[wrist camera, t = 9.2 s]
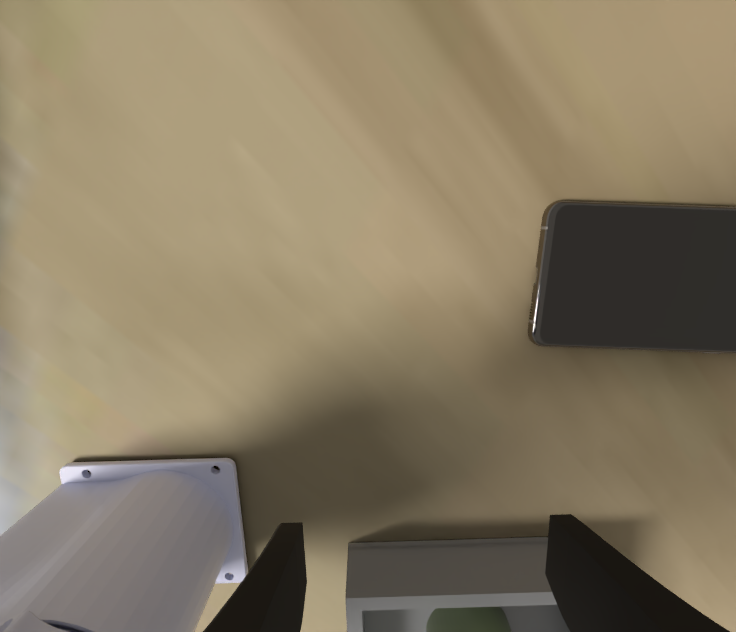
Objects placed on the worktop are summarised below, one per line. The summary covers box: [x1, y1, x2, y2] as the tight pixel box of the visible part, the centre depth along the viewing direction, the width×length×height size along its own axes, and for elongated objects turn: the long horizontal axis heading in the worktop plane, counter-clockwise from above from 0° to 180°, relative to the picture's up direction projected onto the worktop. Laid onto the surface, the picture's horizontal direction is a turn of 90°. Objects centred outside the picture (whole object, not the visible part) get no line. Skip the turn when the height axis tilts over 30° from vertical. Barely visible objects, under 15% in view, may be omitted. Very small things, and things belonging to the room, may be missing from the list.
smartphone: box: [528, 201, 736, 354], centre depth 19 cm, size 7×1×16 cm
